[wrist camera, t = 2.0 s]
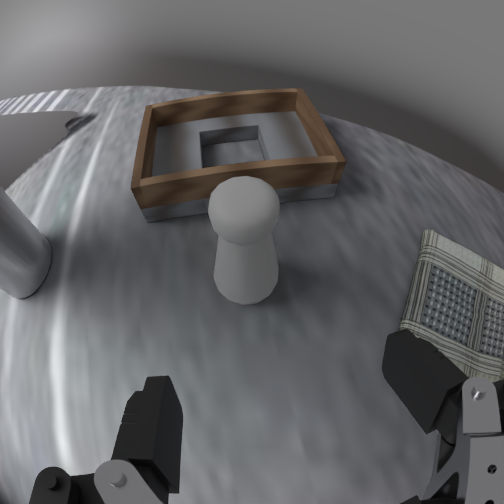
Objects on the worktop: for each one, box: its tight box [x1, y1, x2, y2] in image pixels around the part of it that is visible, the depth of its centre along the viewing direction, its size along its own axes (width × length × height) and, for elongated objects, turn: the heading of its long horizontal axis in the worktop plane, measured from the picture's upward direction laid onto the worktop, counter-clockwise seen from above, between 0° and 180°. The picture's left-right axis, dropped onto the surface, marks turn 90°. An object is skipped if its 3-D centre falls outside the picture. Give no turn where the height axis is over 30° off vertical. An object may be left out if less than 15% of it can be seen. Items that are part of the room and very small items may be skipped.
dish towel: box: [398, 229, 504, 383], centre depth 24 cm, size 19×18×3 cm
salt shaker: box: [208, 176, 280, 305], centre depth 21 cm, size 6×6×13 cm
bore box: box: [131, 89, 346, 223], centre depth 33 cm, size 22×16×6 cm
